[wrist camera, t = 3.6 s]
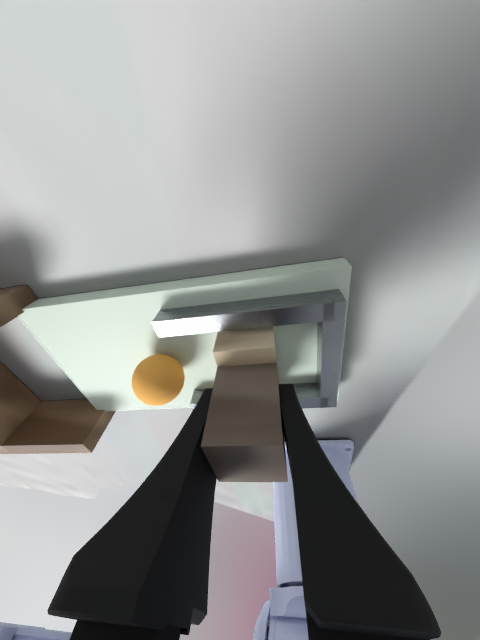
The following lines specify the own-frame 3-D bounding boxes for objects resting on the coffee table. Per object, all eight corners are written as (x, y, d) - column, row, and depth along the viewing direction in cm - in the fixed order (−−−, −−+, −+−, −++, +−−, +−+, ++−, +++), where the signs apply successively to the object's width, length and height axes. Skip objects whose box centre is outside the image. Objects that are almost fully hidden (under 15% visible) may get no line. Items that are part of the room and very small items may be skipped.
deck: (333, 387, 17) (338, 401, 16) (106, 399, 20) (98, 411, 19) (344, 257, 12) (352, 266, 11) (28, 300, 15) (11, 310, 14)
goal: (118, 406, 21) (91, 452, 17) (38, 409, 22) (-1, 453, 19) (27, 284, 14) (-45, 323, 11) (-80, 300, 15) (-173, 339, 12)
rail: (331, 391, 16) (336, 406, 15) (198, 398, 17) (194, 412, 16) (339, 289, 11) (346, 301, 10) (159, 309, 13) (151, 322, 12)
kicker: (279, 384, 15) (289, 491, 10) (235, 386, 16) (223, 490, 11) (272, 322, 12) (281, 429, 7) (218, 327, 13) (192, 431, 8)
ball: (195, 375, 16) (183, 415, 13) (154, 378, 16) (135, 417, 14) (181, 341, 14) (165, 380, 12) (136, 346, 15) (111, 383, 12)
